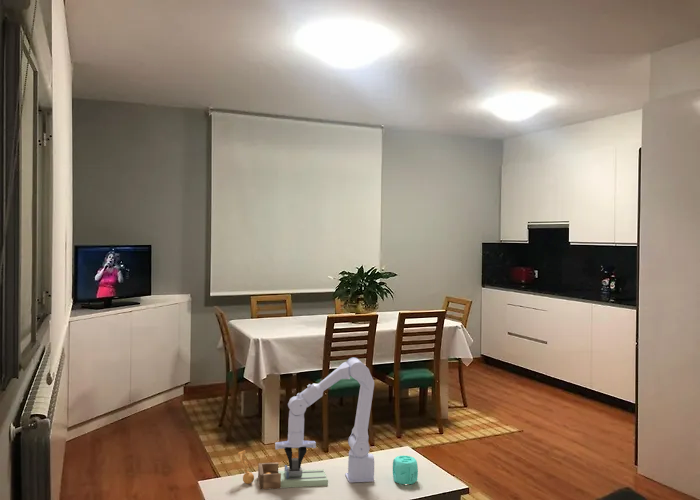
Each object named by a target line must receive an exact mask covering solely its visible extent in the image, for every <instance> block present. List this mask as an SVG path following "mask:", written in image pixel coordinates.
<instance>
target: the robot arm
mask: <svg viewBox="0 0 700 500" xmlns="http://www.w3.org/2000/svg"><path fill="white" fill-rule="evenodd" d="M350 376H351V377H352V379H354V380H355V381H357V382H358V384H359V386H360V387H359V393H358V399H357V406H356V412H355V413H356V414H355V419H354V426H353V428H352V429H351V434H350V436H349V437H348V440H347V444H348V446H349V447H350V449H349V451H348V463H347V465H348V466H347V472H345V474H344V475H345V477H346V479H347V481H348V483H351V484H352V483H367V482H368V483H370V482H371V483H372V482H375V456H374V454H373V453H369V452H370V447H371V446H370V444H369V438H370V437H369V431H368V429H369V424H370V416H371V409H372V401H373V395H374V389H375V381H374V378H373V376H372V374H371V371H370V368H369V367H367V366H366V364H365V363H364V362H362V361H361V360H360V359H359V358H358V357H350V358H348V359H347V360H346V361H344V362H342V363H341V364H340V365H339V366H338V367H337V368H335V369H334V370H333V371H332V372H330V373H329V374H328V375H327V376H326V377H324V379H322V380H321V381H319V382H318V383H312V384H311V383H308V385H306V386H307V388H305V389H303V390H302V391H301V392H298V393H297V394H296V396H295V395H294V396H292V397H290V398H289V401H288V403H287V407H288V409H289V411H288V427H287V431H288V432H287V440H284V441H278V442H275V443H274V444H275V445H274V448H275V450H279V449H283V450H284V452H285V454H286V457H287V461H288V467H289V468H290V469H292V458H293V450H292V449H298V450H297V451H298V454H297V458H298V460H299V466H298V469H300V467H302V462H303V459H304V457H305V456H306V453H307V448H308V449H309V448H312V449H316V447H317V442H316V441H315V440H305V439H304V437H305V413H306V411H307V408H309V407H310V406H311V405H313V404H314V403H315V402H317V401H318V400H319V399H321V398H323V396H324V391H326V390H327V389H329V388H330V387H332V386H334V385H335V384H336V383H338V382H339V381H341V380H351V377H350Z"/></svg>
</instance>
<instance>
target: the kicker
mask: <svg viewBox="0 0 700 500" xmlns="http://www.w3.org/2000/svg"><path fill="white" fill-rule="evenodd" d="M298 466H299V460H298V457H292V469H290V468H289V466H288V465H287V464H285V465H284V471H285V475H286V479H289V477H298V476H302V470H303V469H302V466H300V469H298Z"/></svg>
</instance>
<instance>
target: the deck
mask: <svg viewBox="0 0 700 500" xmlns="http://www.w3.org/2000/svg"><path fill="white" fill-rule="evenodd" d="M278 473H281V487H280V489H281V488H285V489H286V488H301V487H302V488H305V487H319V486H320V487H322V486H326V487H327V486H328V485H329V479H328V476H327V475H326V471H325V469H324V468H322V469H321V468H320V469H317V468H316V469H302V476H298V477H289V479H286V475H285V470H278Z"/></svg>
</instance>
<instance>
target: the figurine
mask: <svg viewBox="0 0 700 500" xmlns="http://www.w3.org/2000/svg"><path fill="white" fill-rule="evenodd" d="M245 454H246V450H245V449H244V450H242V451H238V453H237V457H238V458H239V460H240V463H241V464H242V467H243V471H244V472H245V473H244V474H243V476H242V481H243V483H244V484H246V485H251V484H252V483H253V482H254V480H255V476H254V473H252V472H250V471H249V470H248V468H249V463H248V461H246V460H248V459H247V457H246V455H245Z"/></svg>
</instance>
